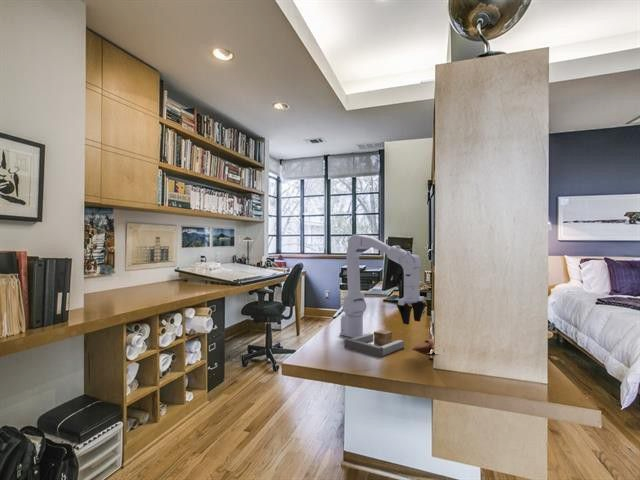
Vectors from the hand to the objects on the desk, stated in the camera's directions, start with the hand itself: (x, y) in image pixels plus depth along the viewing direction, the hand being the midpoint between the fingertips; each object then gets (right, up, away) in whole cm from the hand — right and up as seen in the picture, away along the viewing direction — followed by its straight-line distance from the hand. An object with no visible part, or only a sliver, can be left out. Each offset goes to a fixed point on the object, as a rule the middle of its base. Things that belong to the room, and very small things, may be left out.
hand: (411, 322), depth 119 cm
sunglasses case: (+9, -11, +2) cm, 14 cm away
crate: (-10, -10, +6) cm, 15 cm away
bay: (-13, -10, +3) cm, 17 cm away
